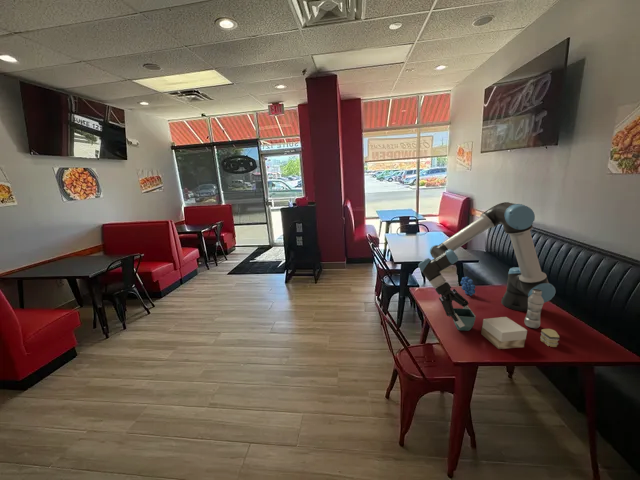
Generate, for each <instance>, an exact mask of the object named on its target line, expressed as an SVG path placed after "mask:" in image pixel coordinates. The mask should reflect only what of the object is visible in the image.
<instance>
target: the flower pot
mask: <svg viewBox="0 0 640 480" xmlns="http://www.w3.org/2000/svg"><path fill="white" fill-rule="evenodd" d="M453 309H454V313H455V314H457V315H458V317H459V318H460V319H461V321H462V322H463V323H464V325H465V326H463V327H461V328H460V327H459V326H458V325H457V323H456V322H455V321H454V319H453V318H452V320H453V323H454V325H455V327H456V329H457V330H458V331H464V332H465V331H466V332H467V331H468V332H469V331H470V330H471V329H472V328H473V327H474V325H475V321H476V317H475V316H476V314H475V313H474V312H473V310H472V309H471V308H470V309H471V310H470V309H463V308H457V307H453ZM472 312H473V313H474V314H473V313H472Z"/></svg>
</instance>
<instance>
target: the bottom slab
mask: <svg viewBox="0 0 640 480" xmlns="http://www.w3.org/2000/svg"><path fill="white" fill-rule="evenodd" d="M480 333H481V335H482V336H483V337H484V338H485V339H486V340H488V342H490V343H491V344H492V345H493V346H494V347H496V348H497V349H498V350H501V349H502V350H505V349H515V348H517V349H519V348H525V344H526V339H523V340H514V341H504V342H501V341H500V340H498V339H497V338H496V337H494V336H493V335H492V334H490V333H489V332H488V331H487V330H485V329H484V328H483V327H481V332H480Z"/></svg>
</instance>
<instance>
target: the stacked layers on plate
mask: <svg viewBox="0 0 640 480" xmlns="http://www.w3.org/2000/svg"><path fill="white" fill-rule="evenodd" d="M540 334H541V335H539V336H540V338H539V339H540V341H541V342H542V343H544V344H545V345H546V346H547V347H549V346H550V347H552V348H557V347H558V345H559V342H558V341H560V335H559V334H558V332H557V331H556V330H555V329H552V328H543V329H541V332H540Z"/></svg>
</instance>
